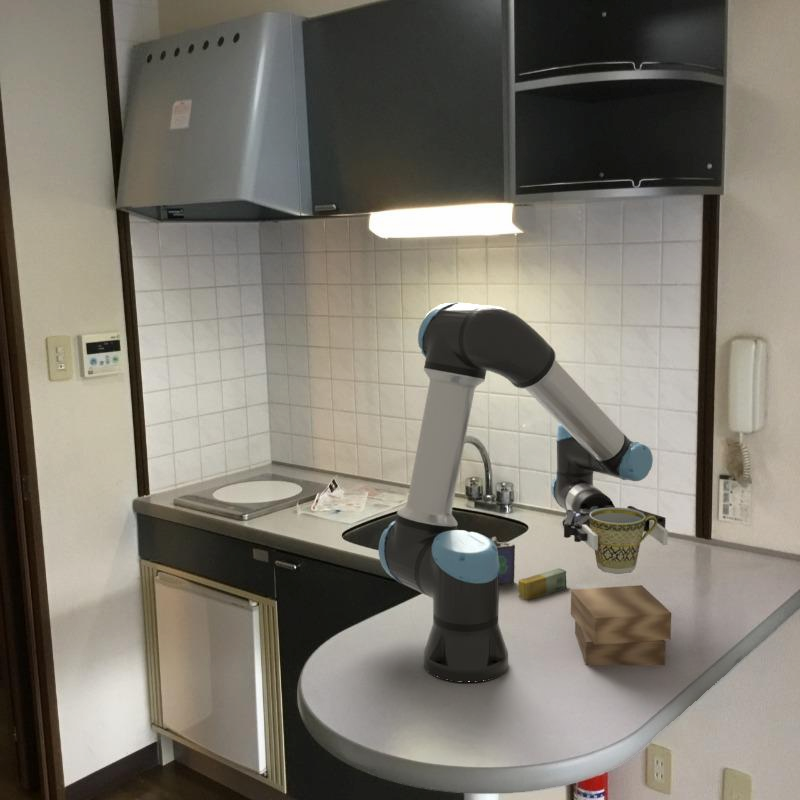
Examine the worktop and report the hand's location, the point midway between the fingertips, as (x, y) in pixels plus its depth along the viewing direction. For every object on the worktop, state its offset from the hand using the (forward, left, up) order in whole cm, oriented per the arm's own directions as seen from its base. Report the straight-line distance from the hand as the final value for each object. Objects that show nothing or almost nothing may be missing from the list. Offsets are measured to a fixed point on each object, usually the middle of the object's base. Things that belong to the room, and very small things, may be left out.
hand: (631, 540), depth 174 cm
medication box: (-12, +32, -22) cm, 41 cm away
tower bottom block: (-1, +3, -22) cm, 23 cm away
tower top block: (-1, +3, -17) cm, 18 cm away
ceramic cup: (-1, +3, -6) cm, 7 cm away
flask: (-22, +36, -22) cm, 48 cm away
